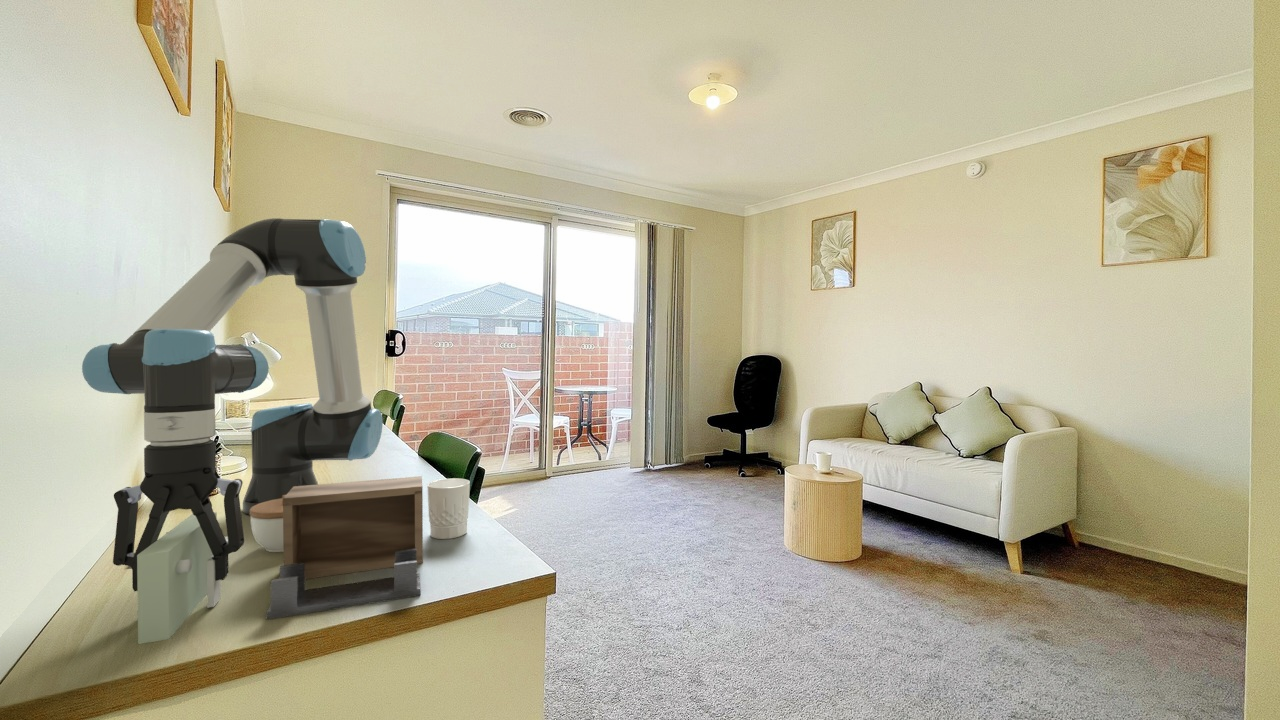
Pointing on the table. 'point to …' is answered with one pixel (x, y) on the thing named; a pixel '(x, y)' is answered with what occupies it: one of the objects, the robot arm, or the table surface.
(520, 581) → the table surface
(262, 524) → the lidded jar
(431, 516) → the white cup
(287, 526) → the cabinet
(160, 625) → the door panel
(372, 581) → the clip rail
